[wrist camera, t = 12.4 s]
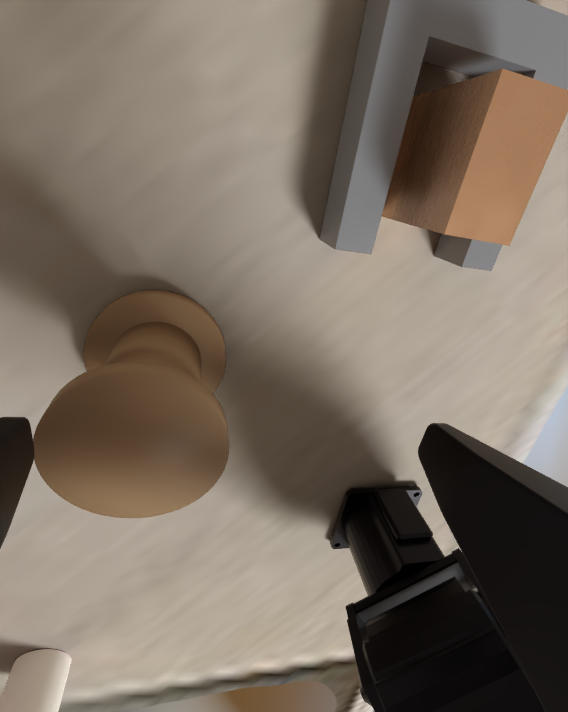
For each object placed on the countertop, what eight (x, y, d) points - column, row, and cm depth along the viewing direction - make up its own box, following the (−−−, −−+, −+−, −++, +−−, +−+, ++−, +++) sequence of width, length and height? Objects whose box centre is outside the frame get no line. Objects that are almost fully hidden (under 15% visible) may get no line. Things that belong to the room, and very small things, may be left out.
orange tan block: (426, 224, 19) (509, 245, 14) (376, 214, 19) (444, 234, 13) (462, 114, 17) (575, 92, 12) (407, 99, 16) (502, 68, 11)
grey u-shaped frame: (460, 259, 21) (491, 271, 18) (319, 239, 18) (335, 249, 16) (541, 43, 16) (593, 25, 14) (370, -15, 14) (400, -48, 12)
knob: (219, 406, 22) (228, 518, 15) (93, 404, 20) (37, 529, 13) (230, 297, 19) (247, 373, 12) (83, 282, 17) (4, 362, 10)
